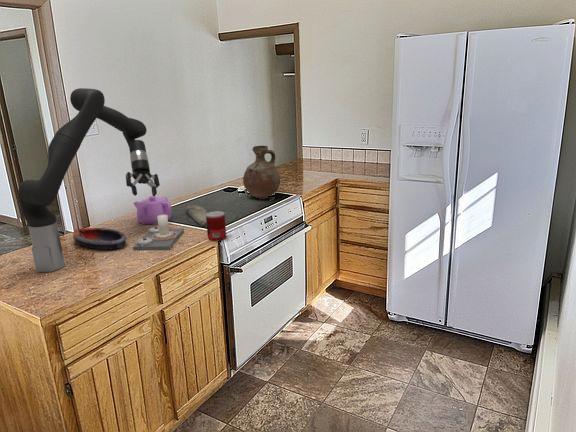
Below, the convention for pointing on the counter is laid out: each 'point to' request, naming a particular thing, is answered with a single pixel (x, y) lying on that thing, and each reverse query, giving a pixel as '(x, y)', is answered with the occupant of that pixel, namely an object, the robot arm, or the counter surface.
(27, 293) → the counter surface
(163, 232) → the cream gear
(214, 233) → the canned food
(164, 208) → the teakettle
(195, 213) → the elongated rock
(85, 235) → the dish
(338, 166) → the counter surface
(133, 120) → the robot arm
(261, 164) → the jug
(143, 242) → the gear board
